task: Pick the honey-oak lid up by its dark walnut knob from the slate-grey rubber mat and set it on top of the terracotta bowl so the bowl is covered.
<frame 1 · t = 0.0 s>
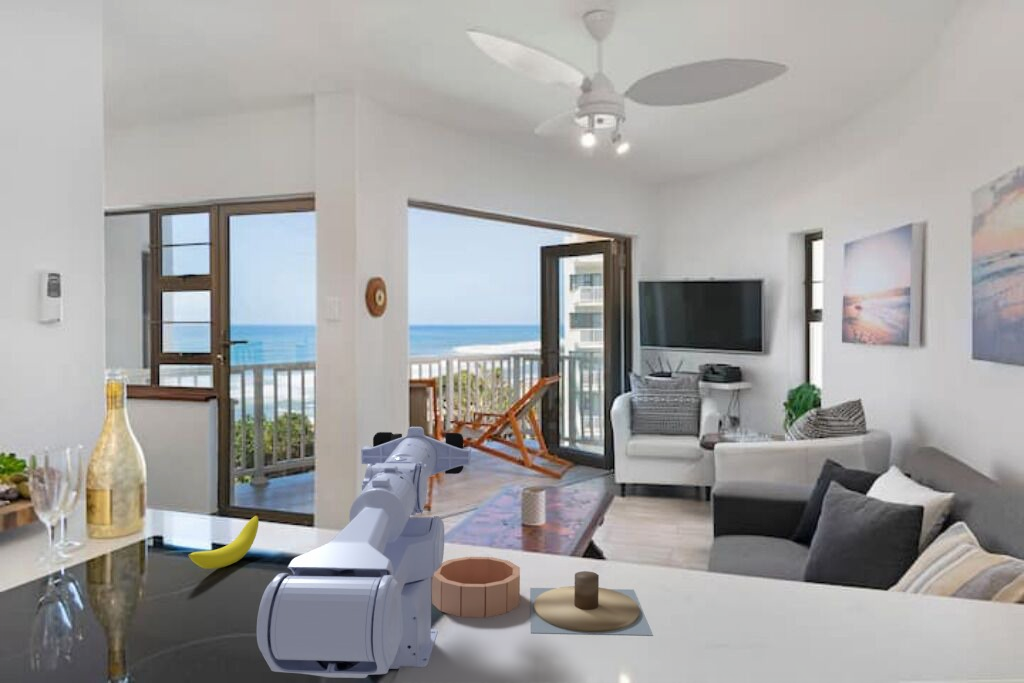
hand: (425, 440, 99), 22 cm above the worktop, tool horizontal, fingers open, 7 cm apart
rubber mat: (586, 613, 91), on the worktop
banana: (226, 568, 108), on the worktop
oak lid: (586, 609, 91), point 1 cm above the worktop, touching rubber mat
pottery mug: (383, 568, 109), on the worktop
terracotta bowl: (476, 603, 94), on the worktop
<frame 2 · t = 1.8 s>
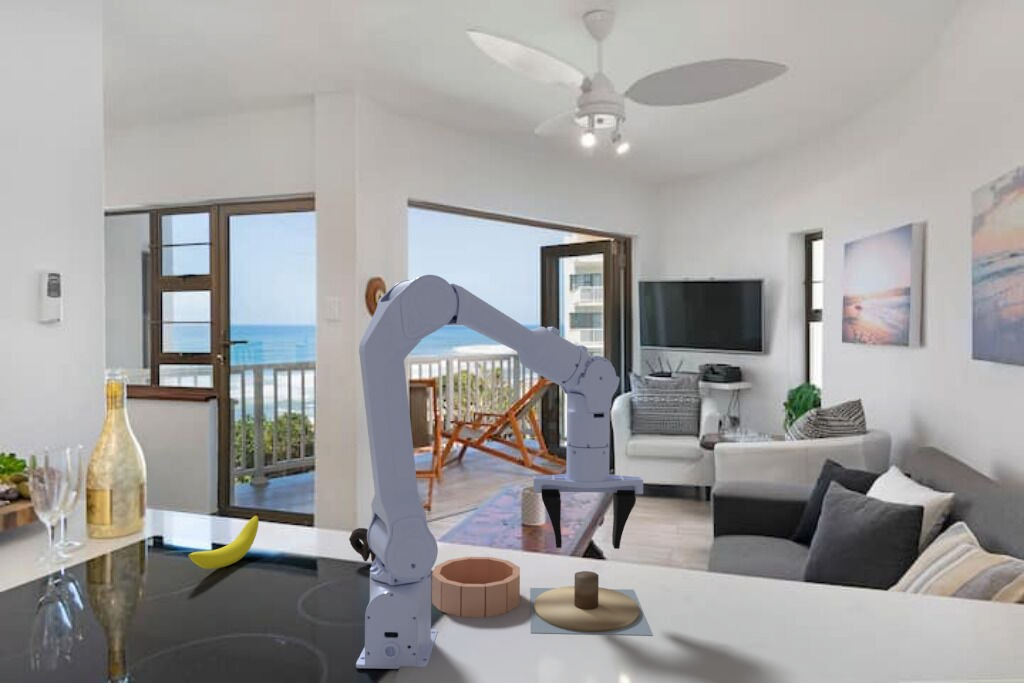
hand: (587, 546, 91), 9 cm above the worktop, tool pointing down, fingers open, 7 cm apart
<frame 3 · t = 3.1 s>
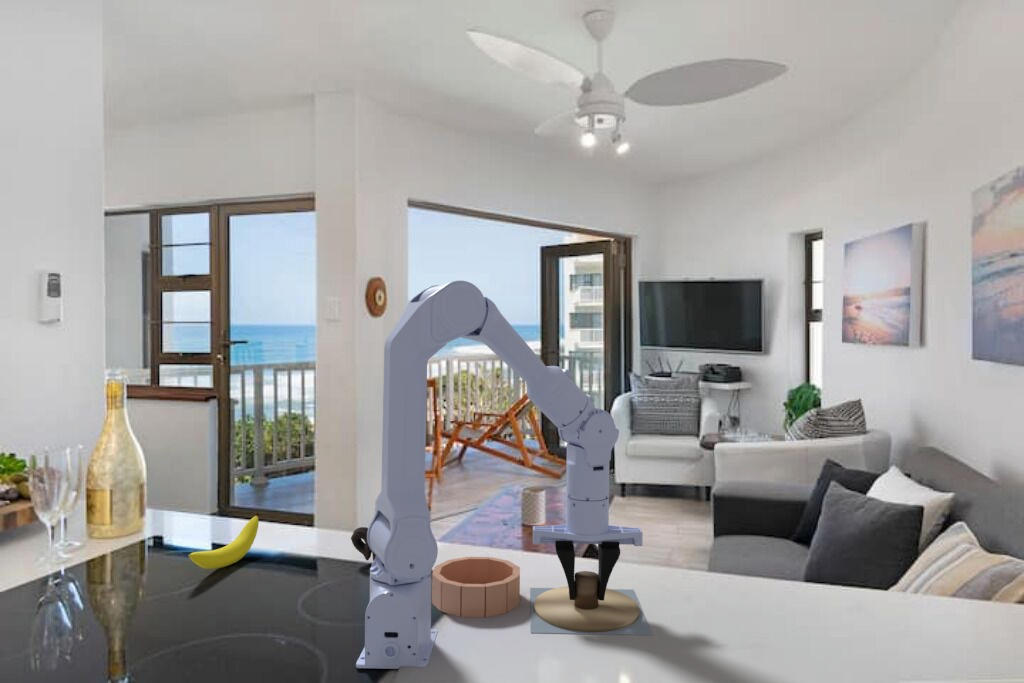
hand: (586, 597, 91), 2 cm above the worktop, tool pointing down, fingers closed on oak lid, 3 cm apart
oak lid: (586, 609, 91), point 1 cm above the worktop, touching gripper, rubber mat
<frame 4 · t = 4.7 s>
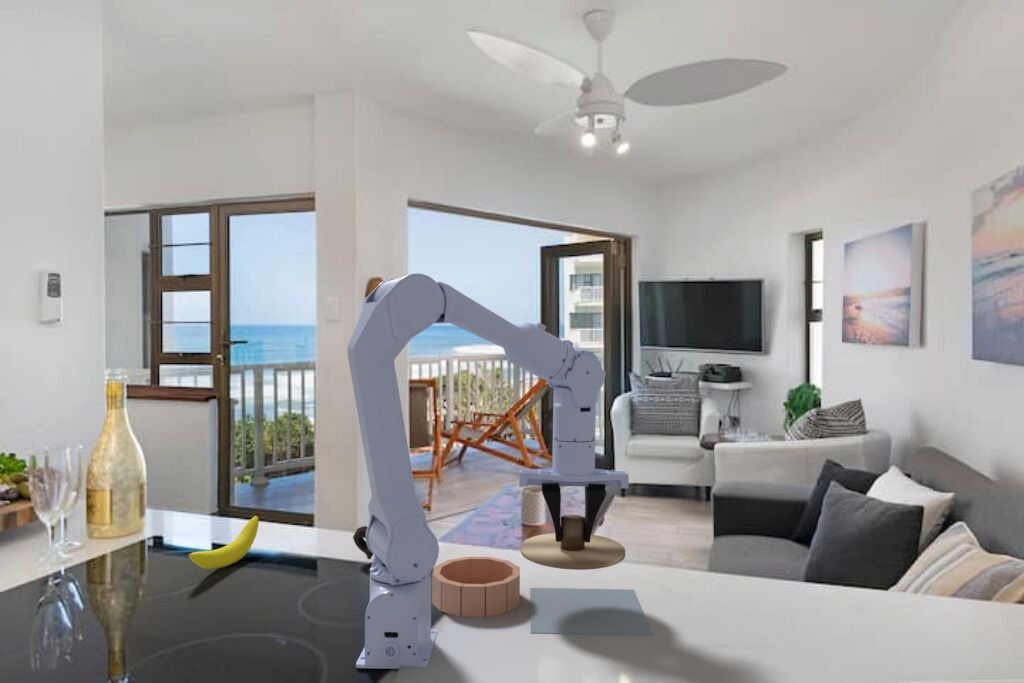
hand: (572, 540, 91), 10 cm above the worktop, tool pointing down, fingers closed on oak lid, 3 cm apart
oak lid: (572, 551, 91), point 8 cm above the worktop, touching gripper
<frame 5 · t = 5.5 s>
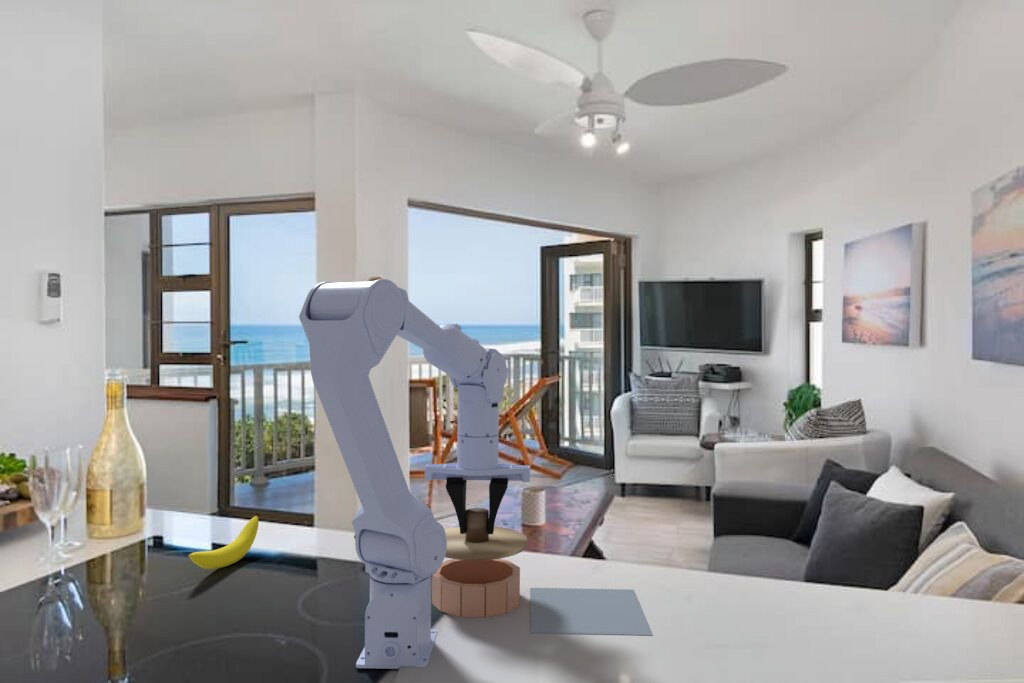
hand: (477, 532, 94), 10 cm above the worktop, tool pointing down, fingers closed on oak lid, 3 cm apart
oak lid: (477, 543, 94), point 8 cm above the worktop, touching gripper
when the fingers open (7 cm above the worktop, at t = 6.3 s): oak lid drops 1 cm, resting on terracotta bowl.
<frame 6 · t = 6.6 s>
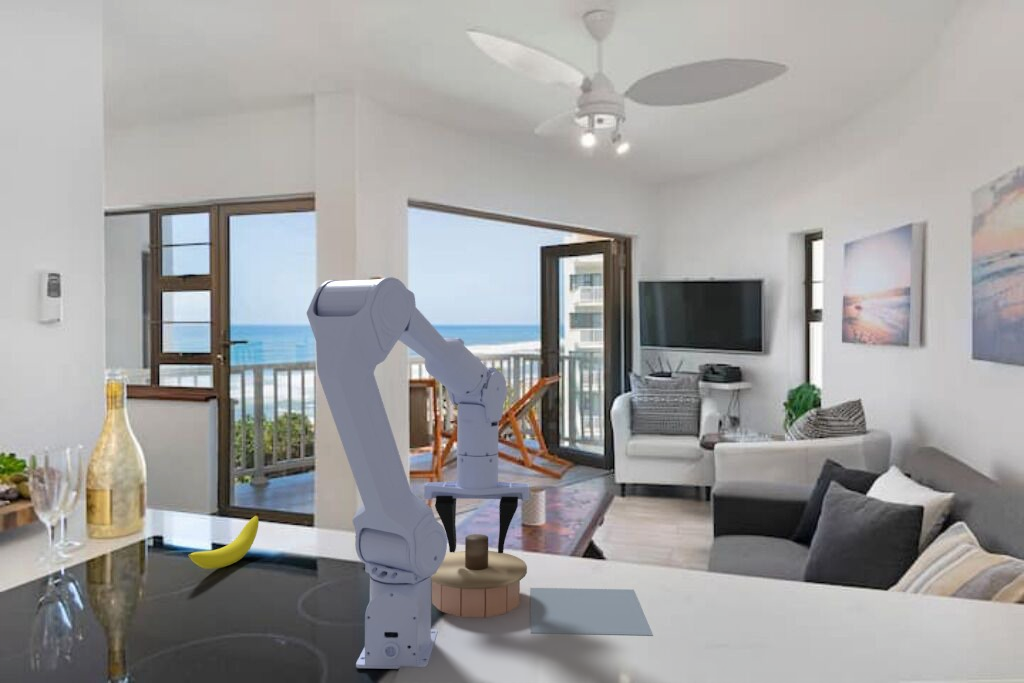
hand: (476, 550, 94), 7 cm above the worktop, tool pointing down, fingers open, 6 cm apart
oak lid: (476, 570, 94), point 4 cm above the worktop, touching terracotta bowl
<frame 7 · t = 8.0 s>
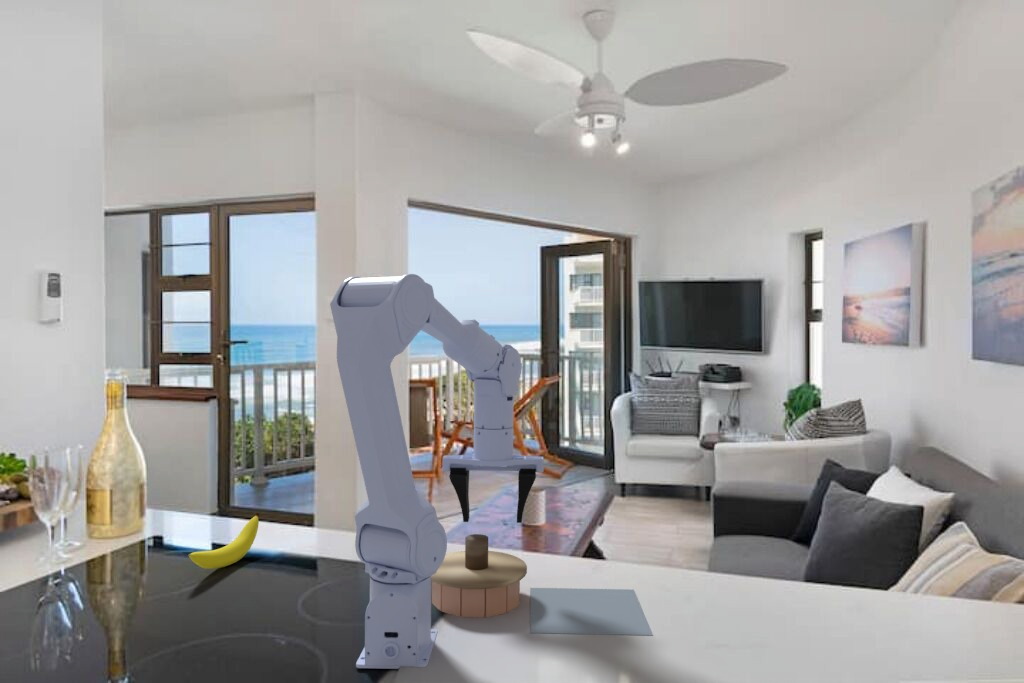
hand: (492, 520, 98), 10 cm above the worktop, tool pointing down, fingers open, 7 cm apart
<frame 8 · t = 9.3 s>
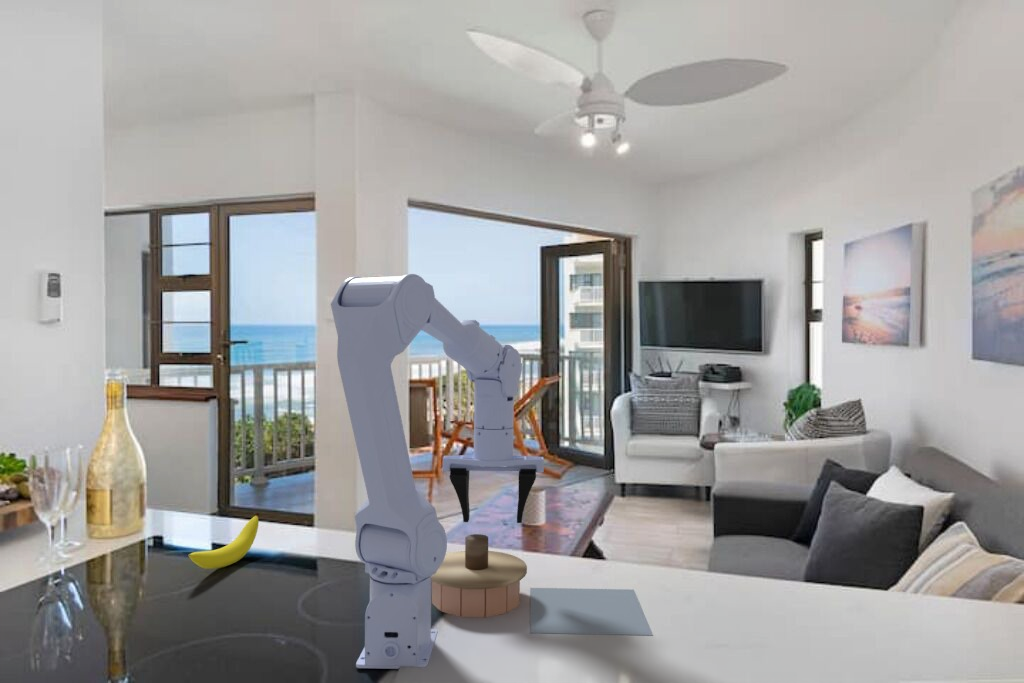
hand: (492, 520, 98), 10 cm above the worktop, tool pointing down, fingers open, 7 cm apart
at the end: oak lid 0.1 cm off-centre on the terracotta bowl, point 4.5 cm above the terracotta bowl's base; oak lid tilted 0°; the gripper is holding nothing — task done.
